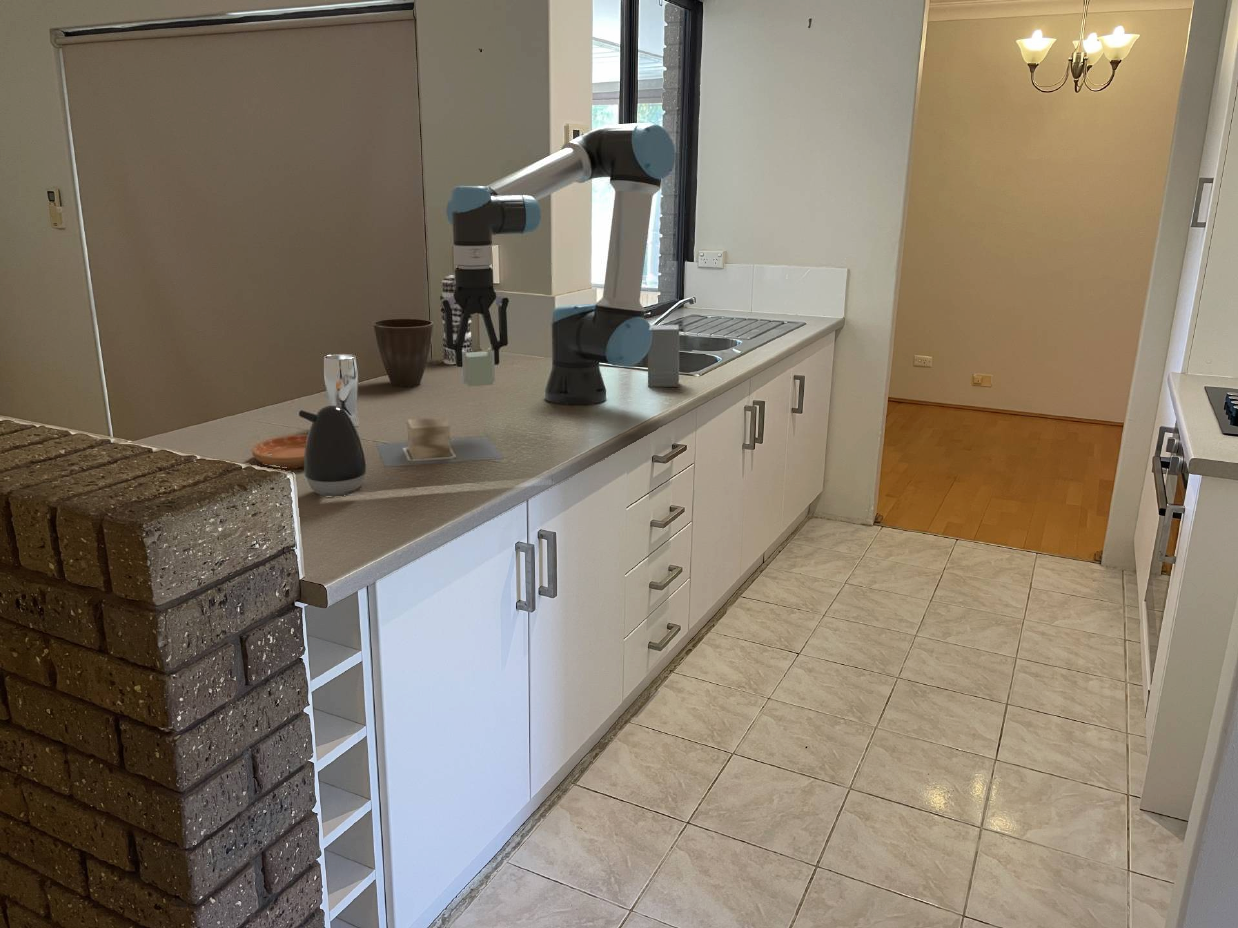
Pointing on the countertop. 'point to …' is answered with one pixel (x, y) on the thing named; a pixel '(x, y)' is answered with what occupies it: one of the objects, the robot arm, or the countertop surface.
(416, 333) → the plant pot
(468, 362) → the sage block
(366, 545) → the countertop surface
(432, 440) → the maple block
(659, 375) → the skincare box
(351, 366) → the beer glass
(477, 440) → the board
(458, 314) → the decorative candle
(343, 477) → the pump dispenser
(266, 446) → the saucer
